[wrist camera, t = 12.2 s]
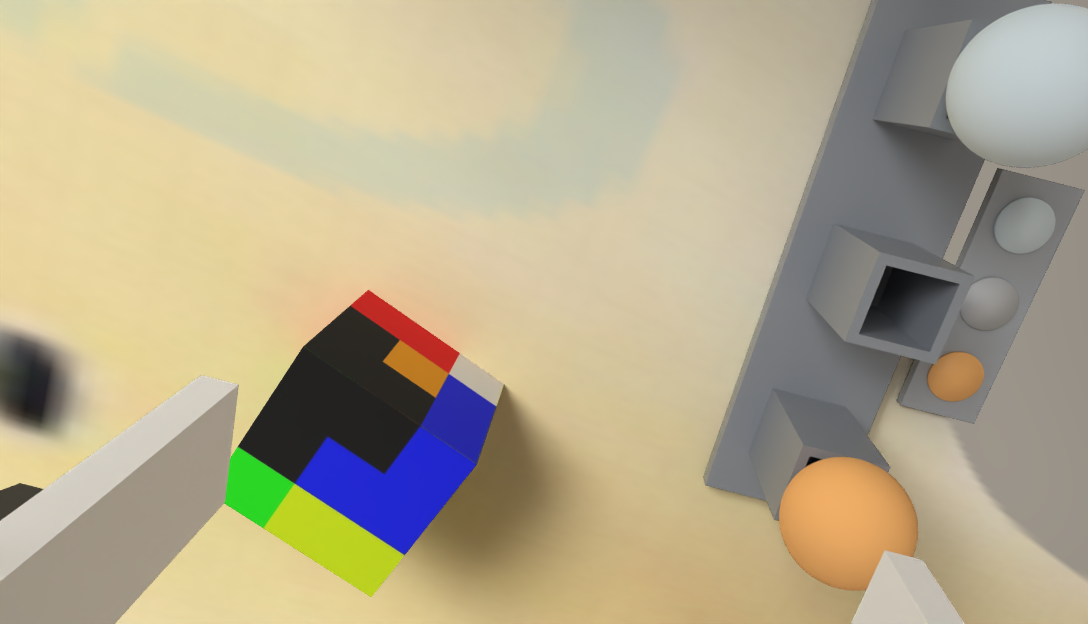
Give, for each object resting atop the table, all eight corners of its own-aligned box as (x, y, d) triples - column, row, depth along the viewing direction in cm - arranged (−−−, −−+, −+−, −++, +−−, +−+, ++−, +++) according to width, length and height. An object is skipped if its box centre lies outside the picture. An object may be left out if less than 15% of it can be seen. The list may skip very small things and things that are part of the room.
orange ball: (791, 421, 36) (824, 486, 31) (909, 452, 36) (964, 522, 31) (751, 521, 38) (775, 600, 32) (863, 550, 38) (907, 634, 32)
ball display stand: (884, -36, 37) (957, -66, 29) (1040, 3, 37) (1154, -17, 29) (703, 476, 46) (722, 555, 38) (827, 508, 46) (871, 593, 38)
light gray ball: (955, -5, 30) (1036, -26, 24) (1097, 30, 30) (1212, 19, 24) (899, 140, 32) (962, 153, 26) (1032, 174, 32) (1126, 195, 26)
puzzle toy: (504, 383, 45) (476, 464, 36) (417, 495, 48) (371, 597, 39) (368, 289, 44) (303, 346, 35) (288, 409, 47) (207, 492, 37)
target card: (997, 168, 39) (1005, 169, 38) (1077, 188, 39) (1087, 190, 38) (896, 400, 43) (901, 406, 43) (968, 419, 43) (975, 425, 43)
